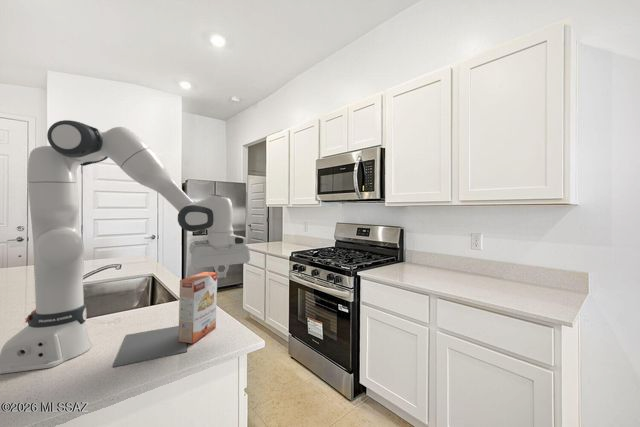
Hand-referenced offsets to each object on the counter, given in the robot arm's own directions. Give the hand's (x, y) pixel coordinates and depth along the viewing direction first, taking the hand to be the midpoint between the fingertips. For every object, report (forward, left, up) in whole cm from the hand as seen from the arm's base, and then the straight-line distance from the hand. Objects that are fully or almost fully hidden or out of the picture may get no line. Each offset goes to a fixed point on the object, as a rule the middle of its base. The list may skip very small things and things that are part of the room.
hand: (221, 277), depth 104 cm
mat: (-22, 0, -20) cm, 29 cm away
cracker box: (-8, 0, -20) cm, 21 cm away
